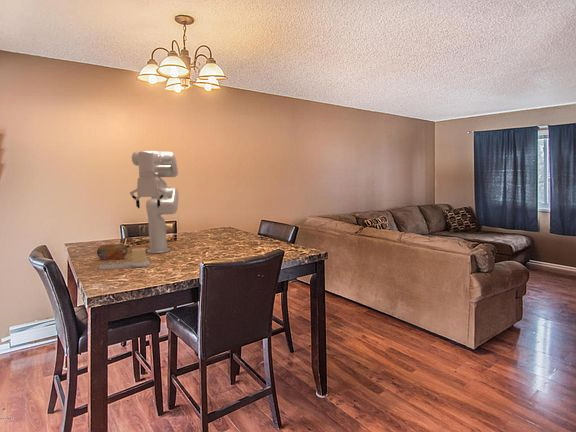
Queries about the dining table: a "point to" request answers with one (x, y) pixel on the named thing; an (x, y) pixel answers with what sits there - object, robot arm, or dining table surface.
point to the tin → (112, 251)
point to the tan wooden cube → (138, 255)
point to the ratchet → (124, 265)
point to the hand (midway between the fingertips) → (148, 207)
